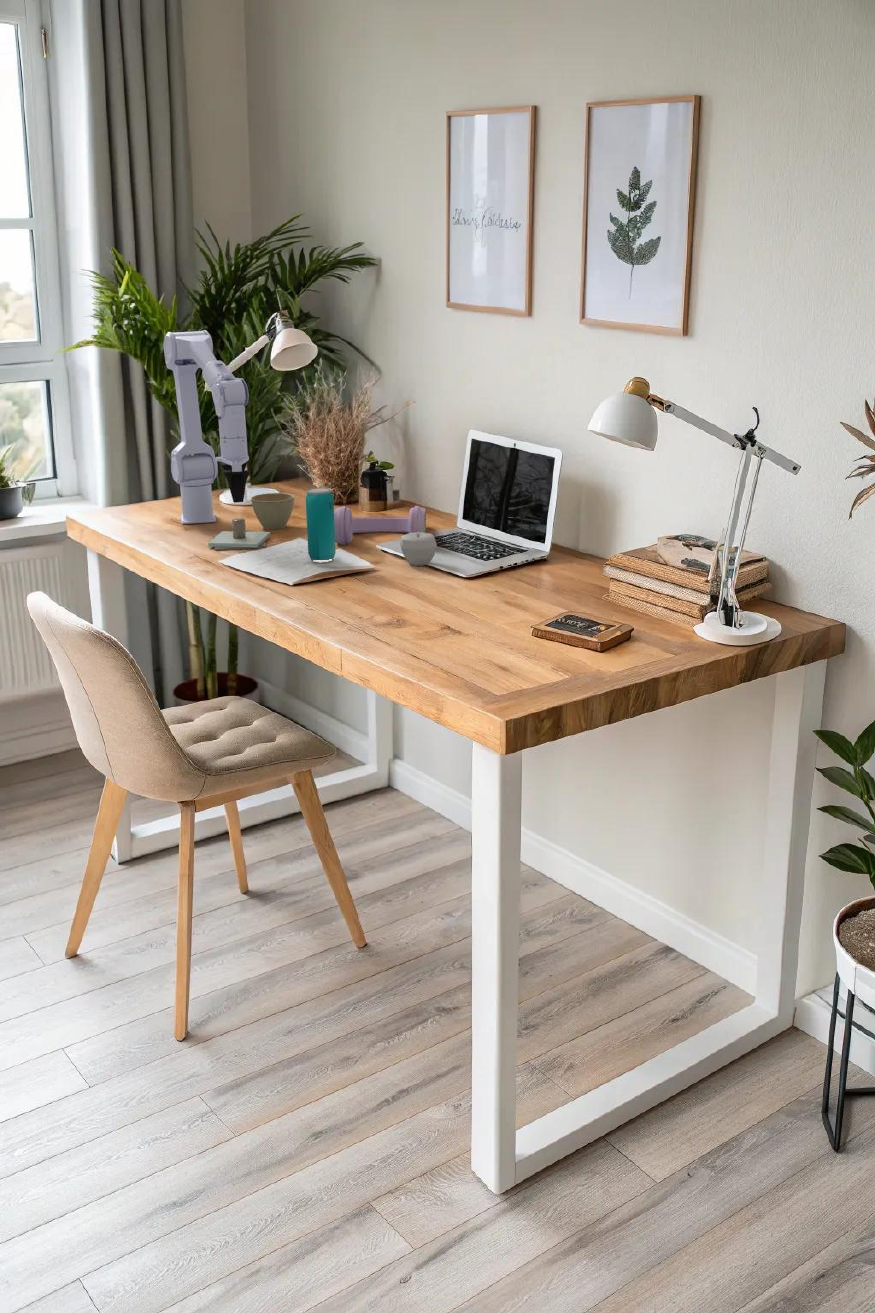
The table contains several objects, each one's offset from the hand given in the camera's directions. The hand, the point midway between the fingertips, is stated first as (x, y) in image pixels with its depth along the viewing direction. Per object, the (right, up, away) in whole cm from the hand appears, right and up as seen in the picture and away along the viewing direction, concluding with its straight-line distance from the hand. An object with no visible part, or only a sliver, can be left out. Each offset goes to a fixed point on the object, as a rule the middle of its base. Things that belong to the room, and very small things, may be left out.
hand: (237, 498), depth 274 cm
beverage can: (+20, -15, -12) cm, 28 cm away
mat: (0, -9, +3) cm, 10 cm away
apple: (+40, -16, -16) cm, 46 cm away
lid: (0, -9, +3) cm, 10 cm away
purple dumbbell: (+32, -8, +7) cm, 33 cm away
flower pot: (+6, -5, +17) cm, 19 cm away
